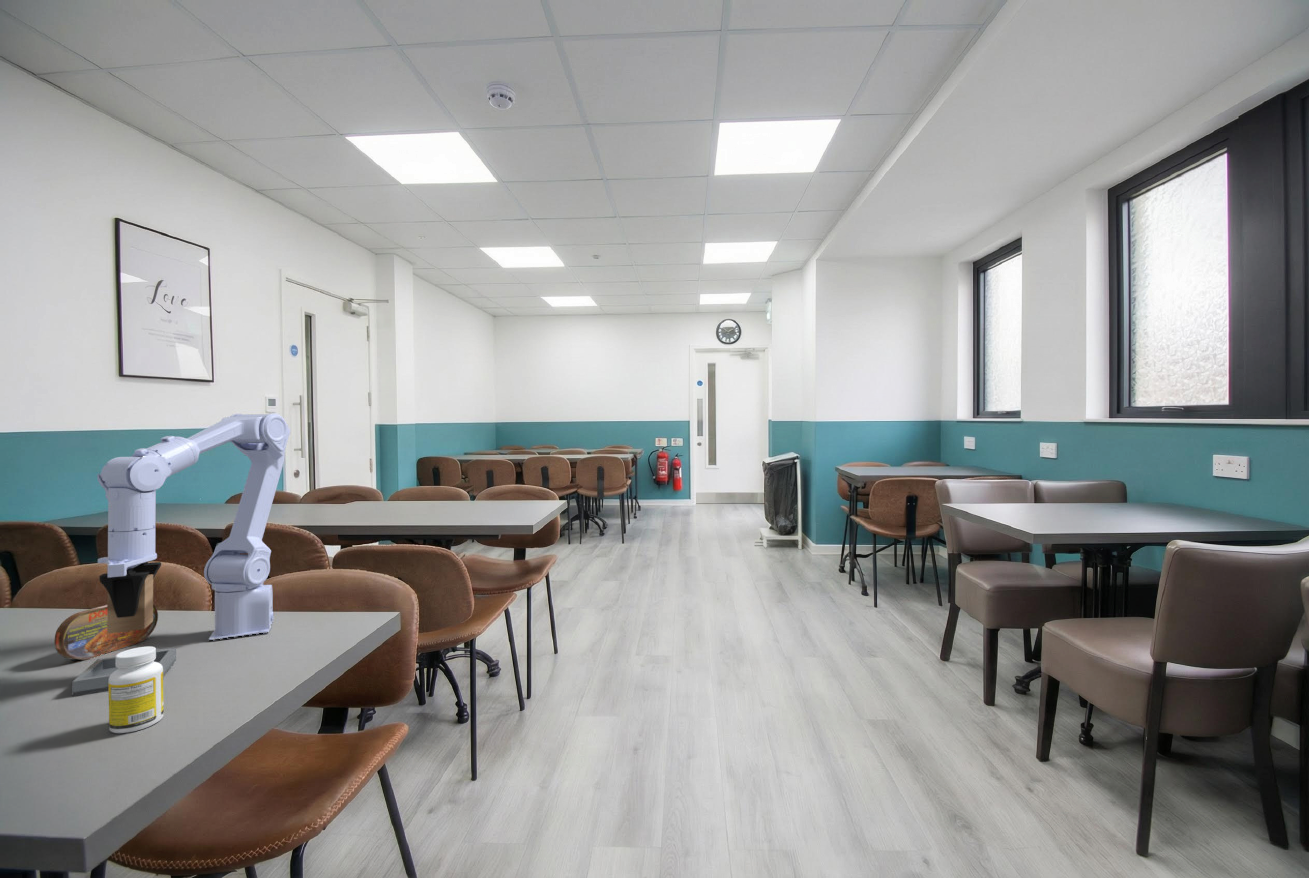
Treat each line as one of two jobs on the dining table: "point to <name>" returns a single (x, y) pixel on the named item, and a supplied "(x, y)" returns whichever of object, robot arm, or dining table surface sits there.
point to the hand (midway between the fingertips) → (131, 612)
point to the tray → (102, 668)
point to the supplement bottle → (135, 691)
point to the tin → (95, 635)
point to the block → (142, 614)
